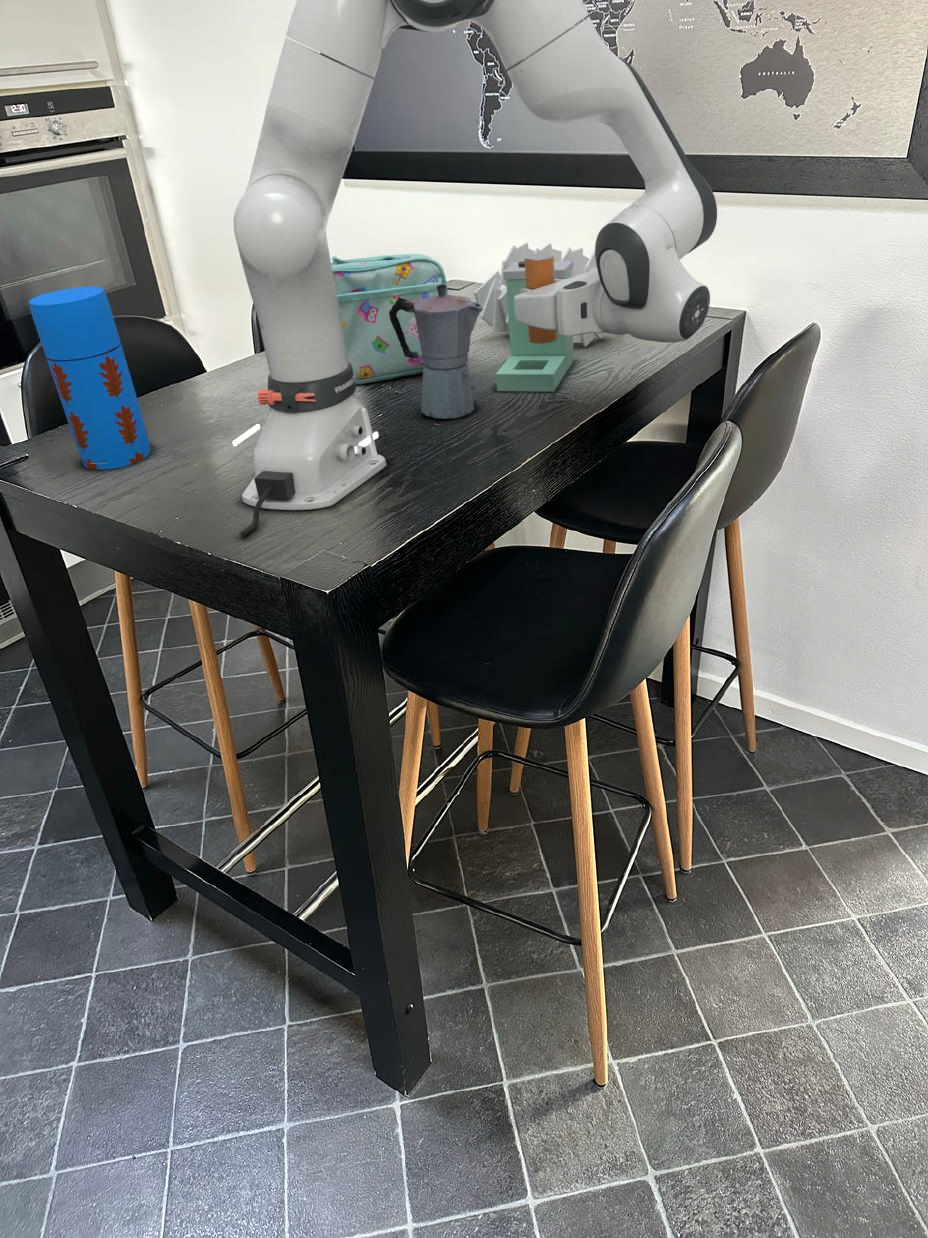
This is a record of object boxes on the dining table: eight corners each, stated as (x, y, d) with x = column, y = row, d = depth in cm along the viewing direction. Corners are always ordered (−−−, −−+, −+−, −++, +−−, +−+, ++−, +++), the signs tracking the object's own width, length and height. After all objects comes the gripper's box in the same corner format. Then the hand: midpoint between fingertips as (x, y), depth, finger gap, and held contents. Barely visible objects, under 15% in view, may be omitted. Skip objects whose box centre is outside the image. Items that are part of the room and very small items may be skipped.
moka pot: (486, 420, 144) (475, 290, 133) (392, 422, 147) (375, 294, 136) (496, 400, 152) (487, 275, 141) (407, 401, 155) (392, 279, 144)
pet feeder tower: (567, 372, 160) (564, 265, 151) (509, 372, 164) (503, 267, 154) (575, 360, 166) (573, 256, 156) (519, 360, 169) (513, 258, 159)
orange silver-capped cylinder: (553, 343, 141) (550, 258, 134) (526, 343, 142) (521, 259, 135) (559, 335, 144) (556, 252, 137) (532, 335, 145) (528, 253, 139)
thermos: (112, 474, 139) (58, 307, 126) (68, 464, 144) (11, 303, 131) (165, 448, 146) (120, 287, 133) (121, 440, 152) (74, 284, 138)
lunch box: (314, 394, 163) (291, 269, 152) (310, 377, 172) (288, 258, 160) (459, 371, 166) (447, 247, 155) (448, 356, 175) (436, 238, 164)
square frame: (553, 391, 153) (553, 374, 151) (496, 391, 156) (495, 373, 154) (566, 372, 161) (565, 355, 159) (511, 372, 163) (510, 355, 162)
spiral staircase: (517, 347, 190) (621, 355, 175) (464, 330, 176) (572, 337, 161) (532, 255, 186) (639, 255, 172) (479, 231, 173) (590, 229, 158)
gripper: (651, 261, 134) (581, 253, 143) (556, 293, 123) (487, 282, 133) (650, 305, 138) (582, 295, 147) (558, 339, 127) (490, 326, 136)
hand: (536, 289), depth 140 cm, fingers closed on orange silver-capped cylinder, 4 cm apart
